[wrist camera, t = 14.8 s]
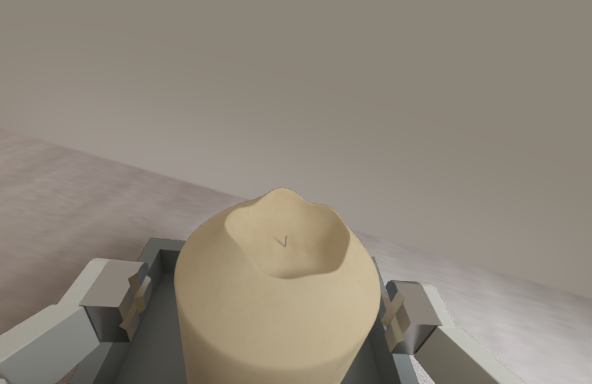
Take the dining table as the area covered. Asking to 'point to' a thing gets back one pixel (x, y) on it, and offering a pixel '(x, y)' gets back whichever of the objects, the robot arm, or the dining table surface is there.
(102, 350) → the serving tray
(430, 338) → the robot arm
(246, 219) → the candle
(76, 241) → the dining table surface
